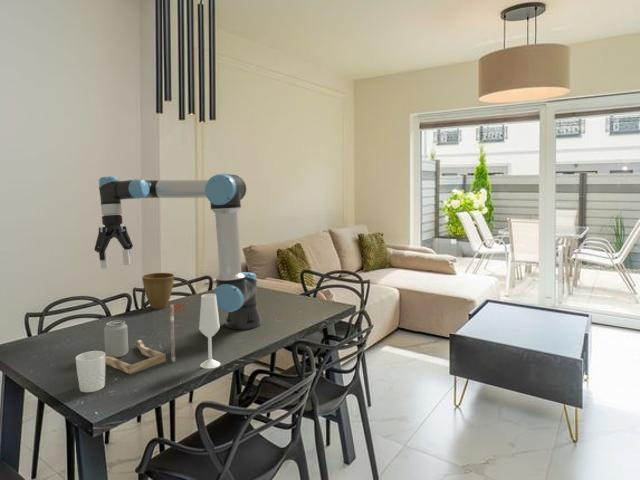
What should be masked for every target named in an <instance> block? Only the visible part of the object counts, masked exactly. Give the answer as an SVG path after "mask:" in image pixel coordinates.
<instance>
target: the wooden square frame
mask: <svg viewBox="0 0 640 480" xmlns="http://www.w3.org/2000/svg"><path fill="white" fill-rule="evenodd" d="M184 312H185V302H183V301H182V302H179V303H175V304H169V322H170V323H169V325H170V329H169V330H170V333H169V334H170V353H171V354H170V355H171V356H170V357H171V363H175V362H176V351H175V350H176V348H175V347H176V346H175V322H174V321H175V316H174V315H176V314H180V313H184ZM137 348H138V349H139V351H140V353H141V355H142V356H143V355H144V356H146V357H148V358H146V359H144V360H141V361H138V362H135V363H132V364H131V363H128V362H125V361H123V360H121V359H119V358H114V357H108V356H106V355H105V366H110V367H112V368H115V369H117V370H120V371H122V372H124V373H127V374H129V375H132V374H135V373H137V372H140V371H142V370H147V369H148V368H152V367H153V366H156V365H158V364H159V365H160V364H162V363H164V362H166V361H167V354H166V353H164V352H161V351H158V350H155V349H152V348H150V347H147V346H145V344H144V342H143V341H142V339H139V340H137Z"/></svg>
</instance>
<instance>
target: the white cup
mask: <svg viewBox="0 0 640 480" xmlns="http://www.w3.org/2000/svg"><path fill="white" fill-rule="evenodd" d="M105 356H106V354H105V351H102V350H91V351H86V352H82V353H80V354H78V355H76V356H75V364H76V367H75V368H76V374H77V380H78V381H77V382H78V386H79V391H80V392H81V393H94V392H98V391H99V390H102V389H103V388H105V385H106V365H105Z"/></svg>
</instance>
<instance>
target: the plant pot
mask: <svg viewBox="0 0 640 480" xmlns="http://www.w3.org/2000/svg"><path fill="white" fill-rule="evenodd" d="M141 277H142V284H143V288H144V292H145V296H146V299H147V301H148V304H149V306H150V308H151V309H153V310H154V309H155V310H160V309H166V308H168V305H169V301H170V300H171V295H172V292H173V287H174V280H175V274H174V273H169V272H153V273H146V274H144V275H142V276H141Z"/></svg>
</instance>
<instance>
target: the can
mask: <svg viewBox="0 0 640 480" xmlns="http://www.w3.org/2000/svg"><path fill="white" fill-rule="evenodd" d="M128 331H129V330H128V325H127V324H126V321H125V320H123V319H122V320H119V319H117V320H112V321H108V322H106V323H105V326H104V328H103V336H104V352H105V356H107V357H114V358H116V359H119V358H122V357H125V356H126V355H127V354H128V353H129V334H128V333H129V332H128Z"/></svg>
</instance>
